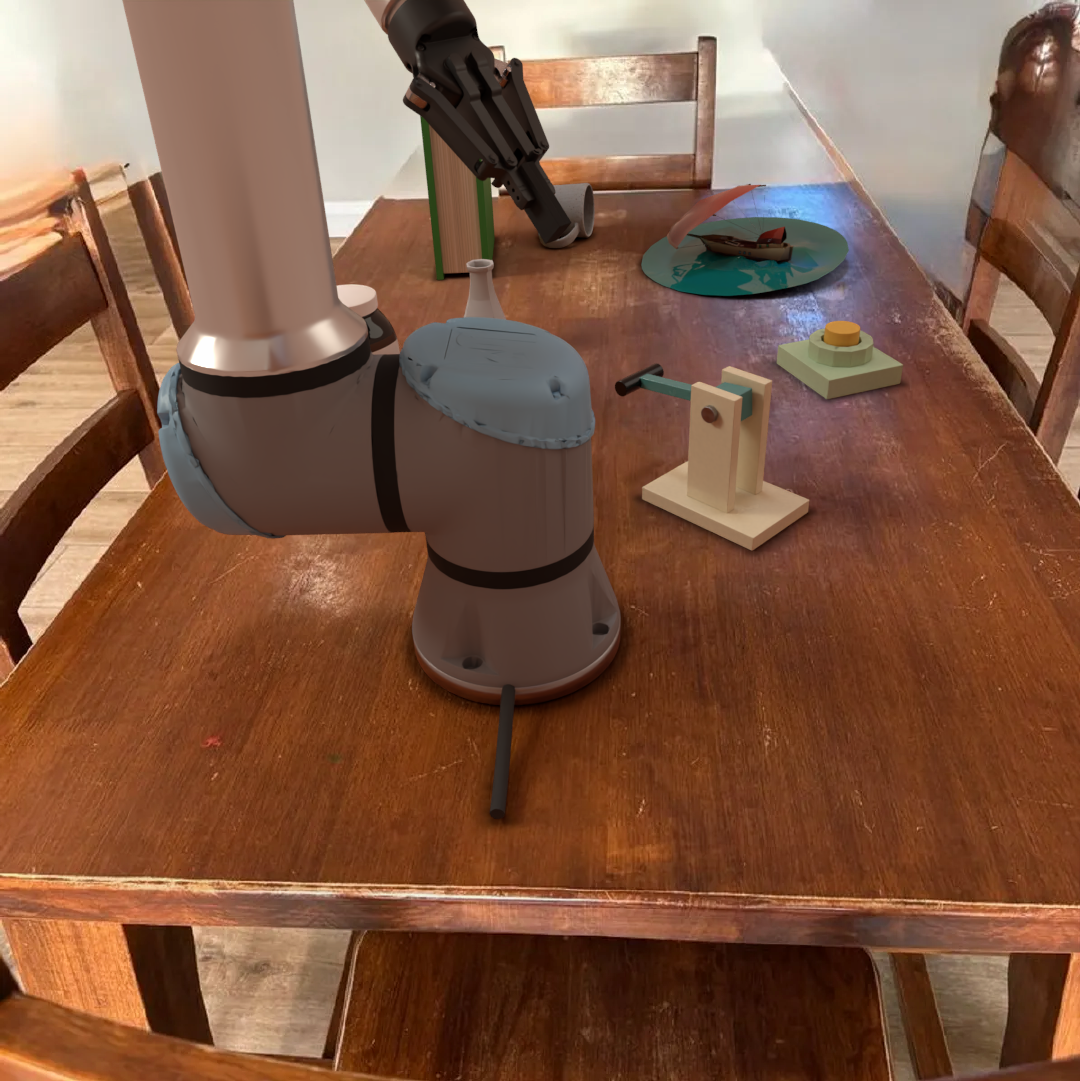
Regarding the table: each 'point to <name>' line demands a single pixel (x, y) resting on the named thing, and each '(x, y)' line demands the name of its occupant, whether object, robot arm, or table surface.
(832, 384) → the button box
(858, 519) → the table surface
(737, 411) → the wooden stand
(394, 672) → the table surface
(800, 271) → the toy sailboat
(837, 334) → the button
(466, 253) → the hardback book
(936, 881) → the table surface
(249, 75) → the robot arm
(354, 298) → the lidded mug
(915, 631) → the table surface
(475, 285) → the flask
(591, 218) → the ceramic mug
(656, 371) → the lever
